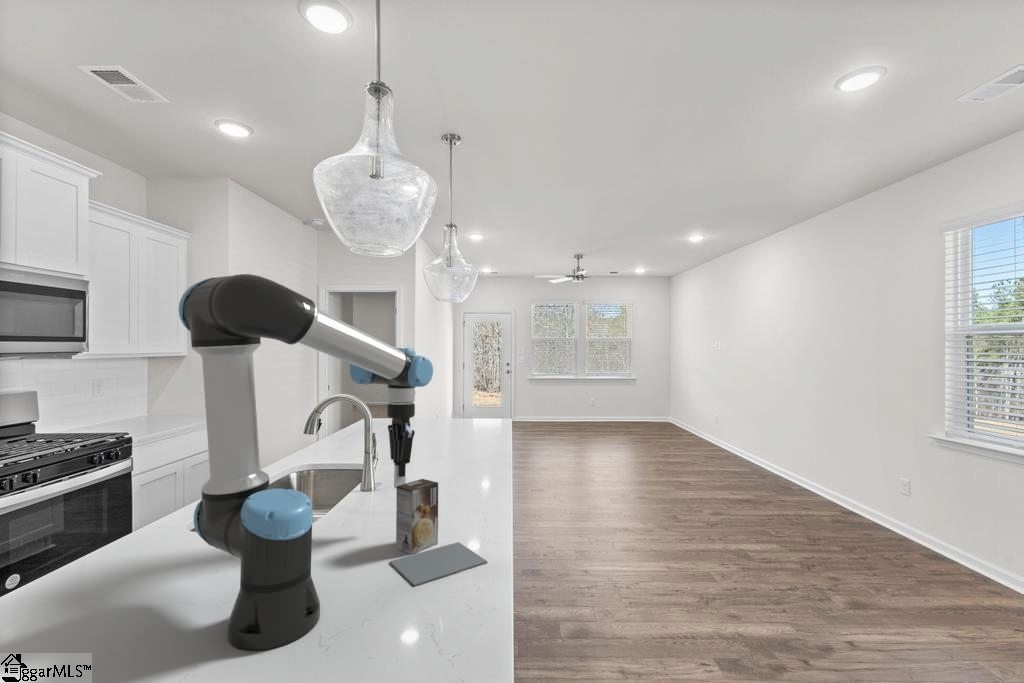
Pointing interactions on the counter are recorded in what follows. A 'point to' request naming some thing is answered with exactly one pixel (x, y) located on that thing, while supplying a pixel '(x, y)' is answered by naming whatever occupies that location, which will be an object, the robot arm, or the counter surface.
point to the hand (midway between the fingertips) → (399, 487)
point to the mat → (437, 563)
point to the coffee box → (417, 515)
